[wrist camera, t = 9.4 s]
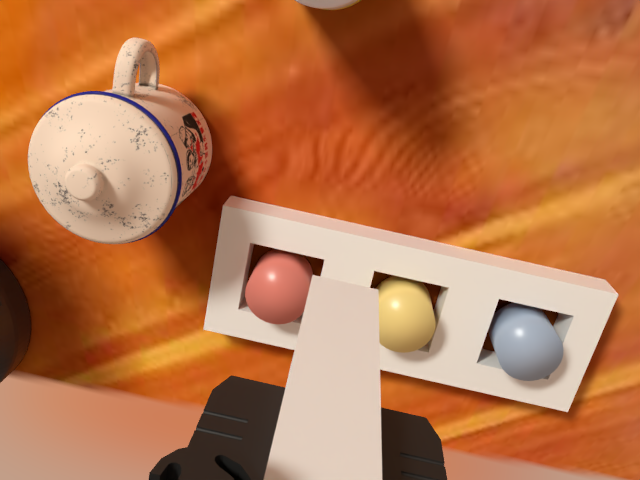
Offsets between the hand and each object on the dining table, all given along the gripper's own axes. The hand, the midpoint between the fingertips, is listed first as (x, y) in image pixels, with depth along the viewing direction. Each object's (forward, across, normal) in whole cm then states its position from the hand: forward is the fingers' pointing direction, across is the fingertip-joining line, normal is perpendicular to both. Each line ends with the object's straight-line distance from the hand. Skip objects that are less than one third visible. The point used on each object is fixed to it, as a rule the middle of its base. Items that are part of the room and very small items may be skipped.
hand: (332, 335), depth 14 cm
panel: (+29, +6, -12) cm, 32 cm away
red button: (+29, -3, -12) cm, 31 cm away
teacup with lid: (+30, -14, -3) cm, 33 cm away
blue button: (+29, +15, -12) cm, 35 cm away
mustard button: (+29, +6, -12) cm, 32 cm away
